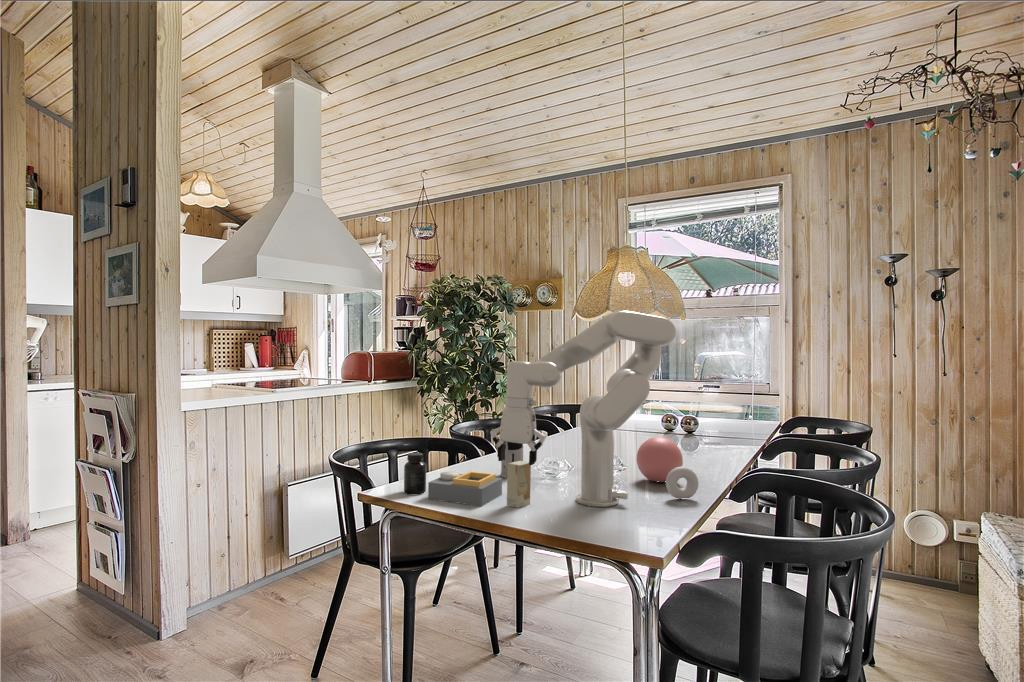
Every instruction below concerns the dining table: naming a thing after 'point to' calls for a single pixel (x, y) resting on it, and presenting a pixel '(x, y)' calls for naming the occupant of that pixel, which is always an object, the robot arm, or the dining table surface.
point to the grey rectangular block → (465, 487)
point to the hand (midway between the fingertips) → (516, 462)
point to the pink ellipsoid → (658, 458)
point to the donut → (673, 479)
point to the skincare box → (518, 484)
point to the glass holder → (511, 456)
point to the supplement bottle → (415, 474)
